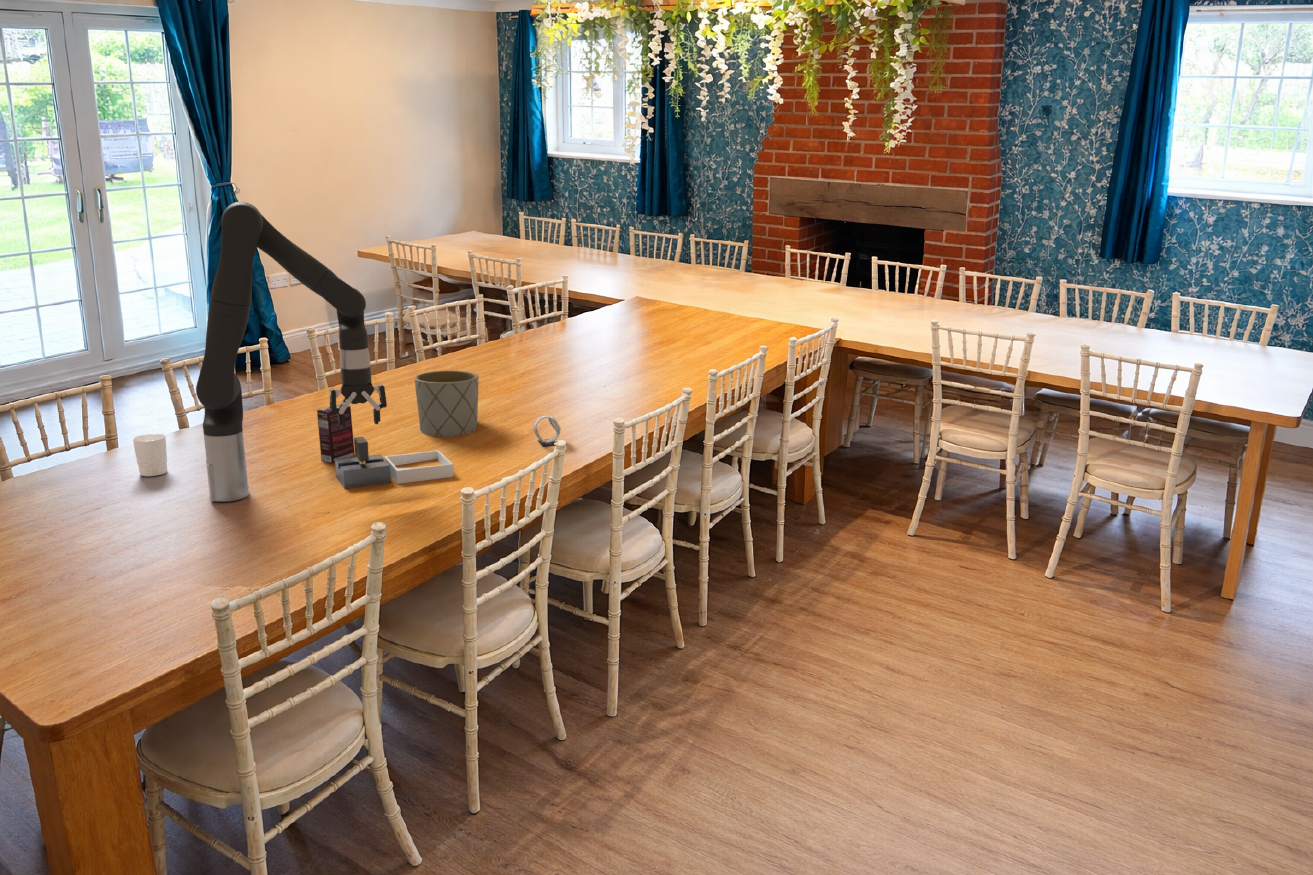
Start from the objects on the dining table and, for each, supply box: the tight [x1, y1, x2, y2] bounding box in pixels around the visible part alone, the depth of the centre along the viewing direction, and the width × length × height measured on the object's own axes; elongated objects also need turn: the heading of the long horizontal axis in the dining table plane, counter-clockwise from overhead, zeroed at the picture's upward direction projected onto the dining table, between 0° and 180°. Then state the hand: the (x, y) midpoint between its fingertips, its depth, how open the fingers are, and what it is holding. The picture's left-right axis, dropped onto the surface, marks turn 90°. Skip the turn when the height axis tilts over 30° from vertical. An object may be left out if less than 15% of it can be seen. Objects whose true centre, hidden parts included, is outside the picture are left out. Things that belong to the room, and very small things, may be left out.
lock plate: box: [334, 454, 392, 489], centre depth 268 cm, size 12×12×5 cm
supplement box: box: [316, 403, 355, 465], centre depth 283 cm, size 9×5×16 cm, turn 149°
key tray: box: [383, 450, 455, 485], centre depth 275 cm, size 15×15×4 cm
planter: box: [414, 370, 479, 438], centre depth 307 cm, size 19×19×20 cm
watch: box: [533, 414, 562, 448], centre depth 296 cm, size 6×8×11 cm
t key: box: [353, 436, 369, 464], centre depth 268 cm, size 6×2×10 cm, turn 27°
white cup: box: [132, 433, 168, 477], centre depth 271 cm, size 8×8×10 cm
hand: (360, 425), depth 265 cm, fingers open, 8 cm apart
